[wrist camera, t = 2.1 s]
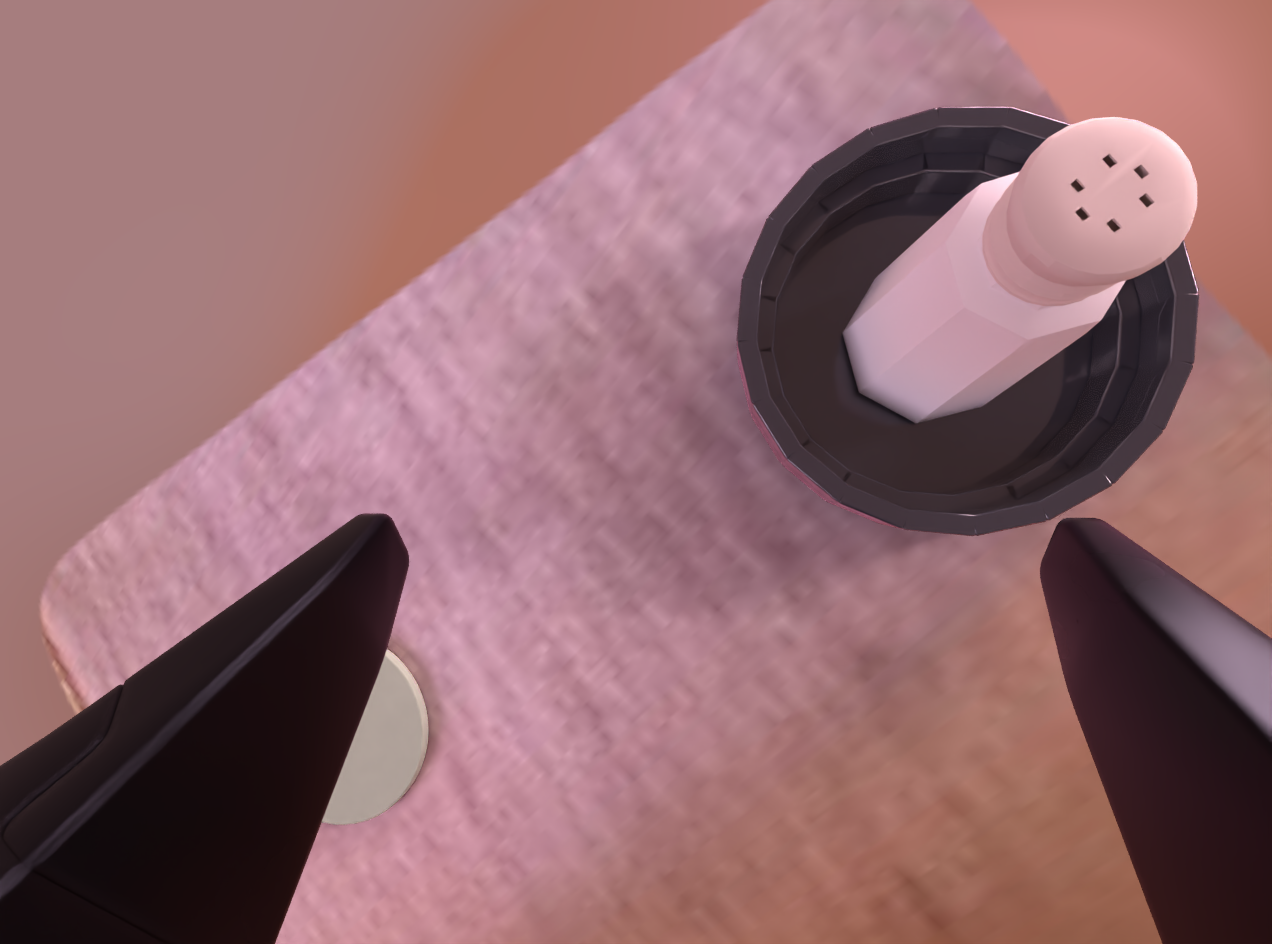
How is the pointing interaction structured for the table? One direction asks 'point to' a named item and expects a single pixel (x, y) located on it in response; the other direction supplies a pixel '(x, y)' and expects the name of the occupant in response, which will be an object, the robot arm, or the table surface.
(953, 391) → the pepper shaker
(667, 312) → the table surface
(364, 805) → the coaster
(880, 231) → the pan
